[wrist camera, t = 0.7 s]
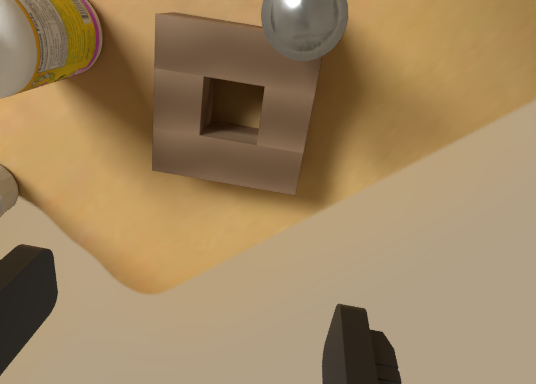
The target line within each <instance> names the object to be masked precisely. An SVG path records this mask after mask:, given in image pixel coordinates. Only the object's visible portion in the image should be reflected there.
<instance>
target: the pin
mask: <svg viewBox="0 0 536 384" xmlns="http://www.w3.org/2000/svg"><path fill="white" fill-rule="evenodd" d="M261 19H262V26H263V30H264V33H265V35H266V38H267V39H268V41H269V43H270V44H271V45H272V47H273V48H274V49H275V50H276V51H278V52H279V53H280V54H282V55H283V56H285V57H287V58H290V59H293V60H298V61H309V60H314V59H317V58H319V57H321V56H323V55H325V54H327V53H328V52H329V51H331V50H332V49H333V48H334V47H335V46H336V45H337V43H338V42H339V41H340V39H341V37H342V35H343V33H344V31H345V28H346V25H347V20H348V4H347V0H264V1H263V5H262V12H261Z"/></svg>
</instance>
